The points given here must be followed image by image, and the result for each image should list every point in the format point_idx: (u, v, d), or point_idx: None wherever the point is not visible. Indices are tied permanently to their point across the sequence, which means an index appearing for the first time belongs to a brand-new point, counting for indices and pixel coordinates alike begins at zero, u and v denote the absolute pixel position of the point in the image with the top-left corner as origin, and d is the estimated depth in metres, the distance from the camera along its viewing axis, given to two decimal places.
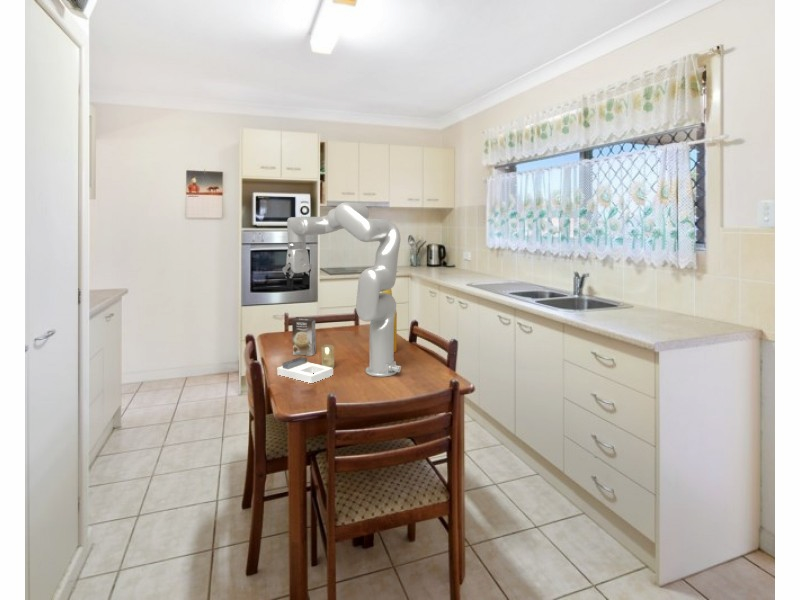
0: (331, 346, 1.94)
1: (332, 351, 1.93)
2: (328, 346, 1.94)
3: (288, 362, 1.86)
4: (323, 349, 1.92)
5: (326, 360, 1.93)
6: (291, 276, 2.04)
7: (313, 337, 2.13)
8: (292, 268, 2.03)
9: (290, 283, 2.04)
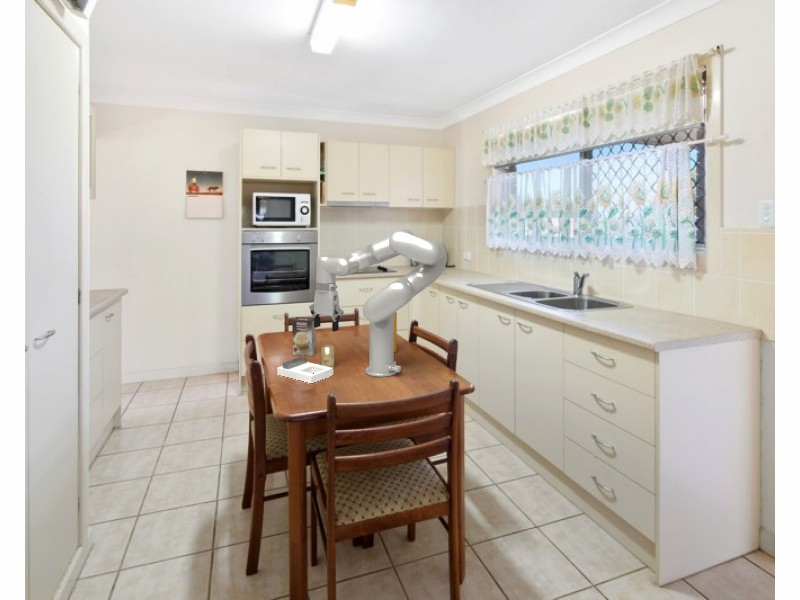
0: (331, 346, 1.94)
1: (332, 351, 1.93)
2: (328, 346, 1.94)
3: (288, 362, 1.86)
4: (323, 349, 1.92)
5: (326, 360, 1.93)
6: None
7: (313, 337, 2.13)
8: None
9: None
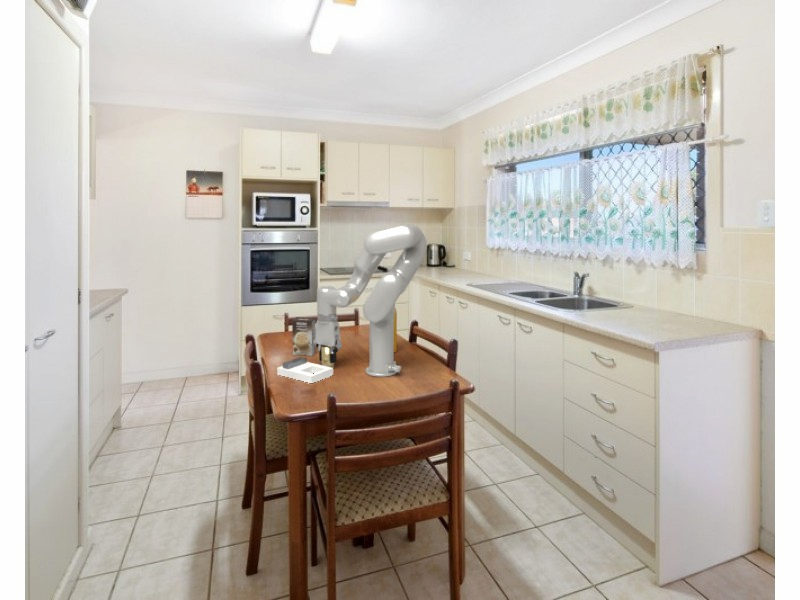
0: None
1: None
2: (328, 346, 1.94)
3: (288, 362, 1.86)
4: (323, 349, 1.92)
5: (326, 360, 1.93)
6: None
7: (313, 337, 2.13)
8: (339, 340, 1.93)
9: None
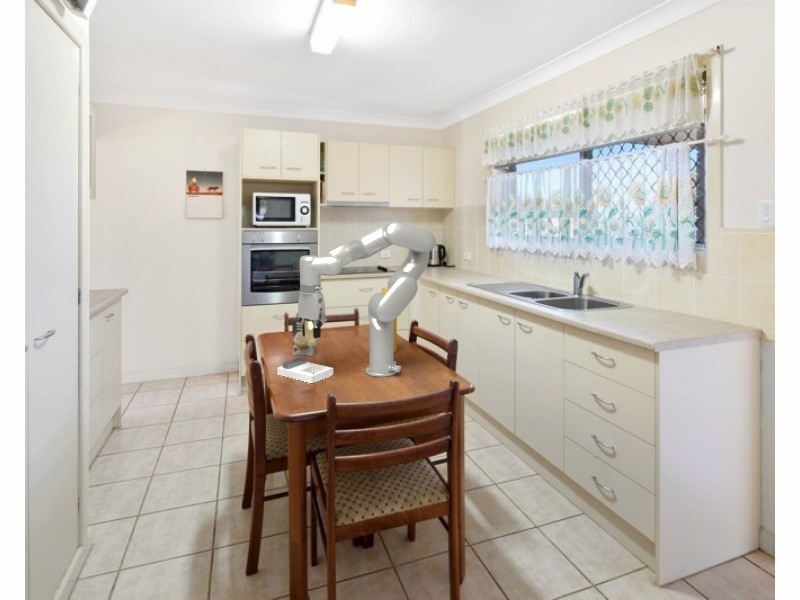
0: None
1: None
2: (311, 320, 1.80)
3: (288, 362, 1.86)
4: (306, 323, 1.79)
5: (309, 335, 1.79)
6: None
7: None
8: (324, 313, 1.79)
9: None
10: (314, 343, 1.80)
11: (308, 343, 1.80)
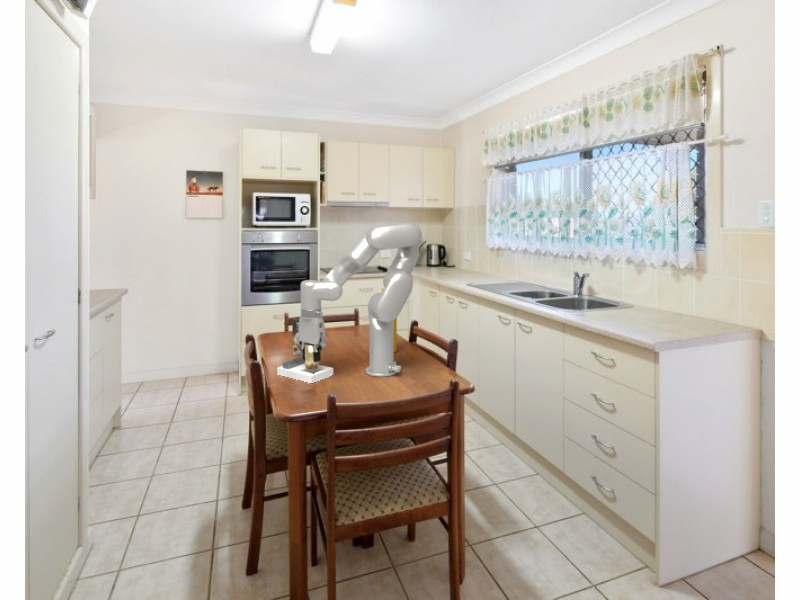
0: None
1: None
2: (311, 344, 1.81)
3: (288, 362, 1.86)
4: (306, 347, 1.80)
5: (309, 358, 1.80)
6: None
7: None
8: (324, 337, 1.80)
9: None
10: (314, 367, 1.81)
11: (308, 367, 1.81)
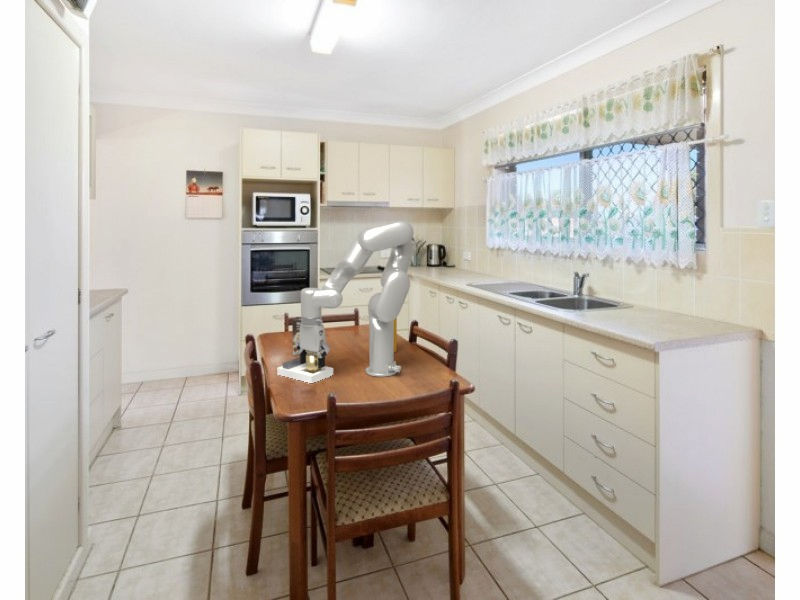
0: (316, 354, 1.83)
1: (317, 360, 1.82)
2: (312, 355, 1.82)
3: (288, 362, 1.86)
4: (307, 357, 1.81)
5: (310, 369, 1.81)
6: None
7: None
8: None
9: None
10: None
11: None
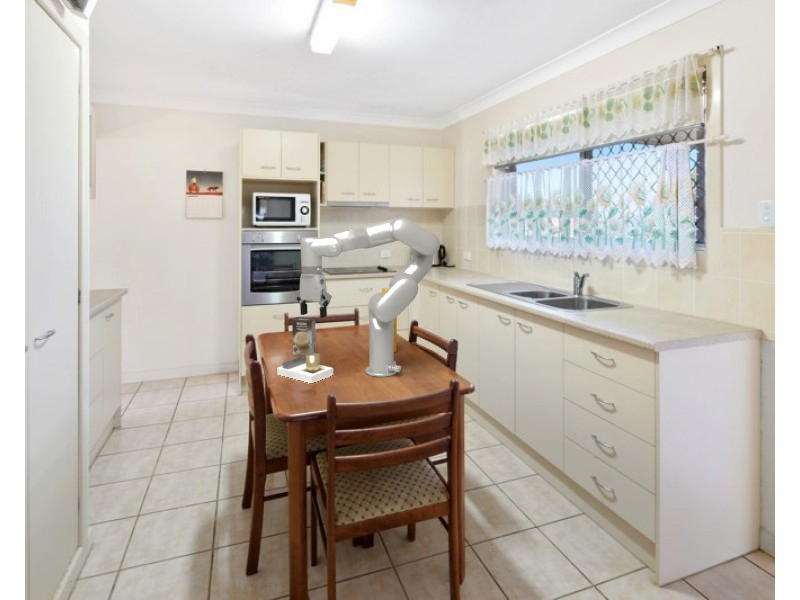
0: (316, 354, 1.83)
1: (317, 360, 1.82)
2: (312, 355, 1.82)
3: (288, 362, 1.86)
4: (307, 358, 1.81)
5: (310, 369, 1.81)
6: None
7: (313, 337, 2.13)
8: None
9: None
10: None
11: None
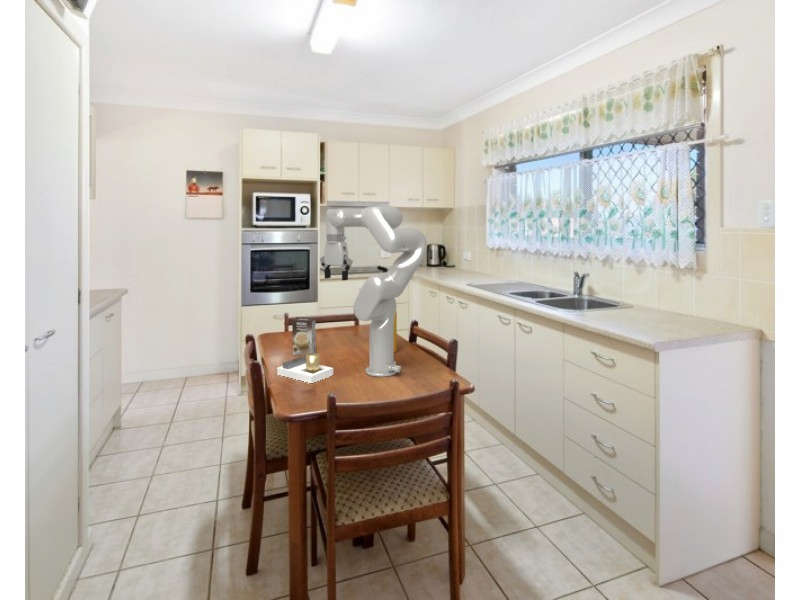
0: (316, 354, 1.83)
1: (317, 360, 1.82)
2: (312, 355, 1.82)
3: (288, 362, 1.86)
4: (307, 358, 1.81)
5: (310, 369, 1.81)
6: None
7: (313, 337, 2.13)
8: None
9: None
10: None
11: None
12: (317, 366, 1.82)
